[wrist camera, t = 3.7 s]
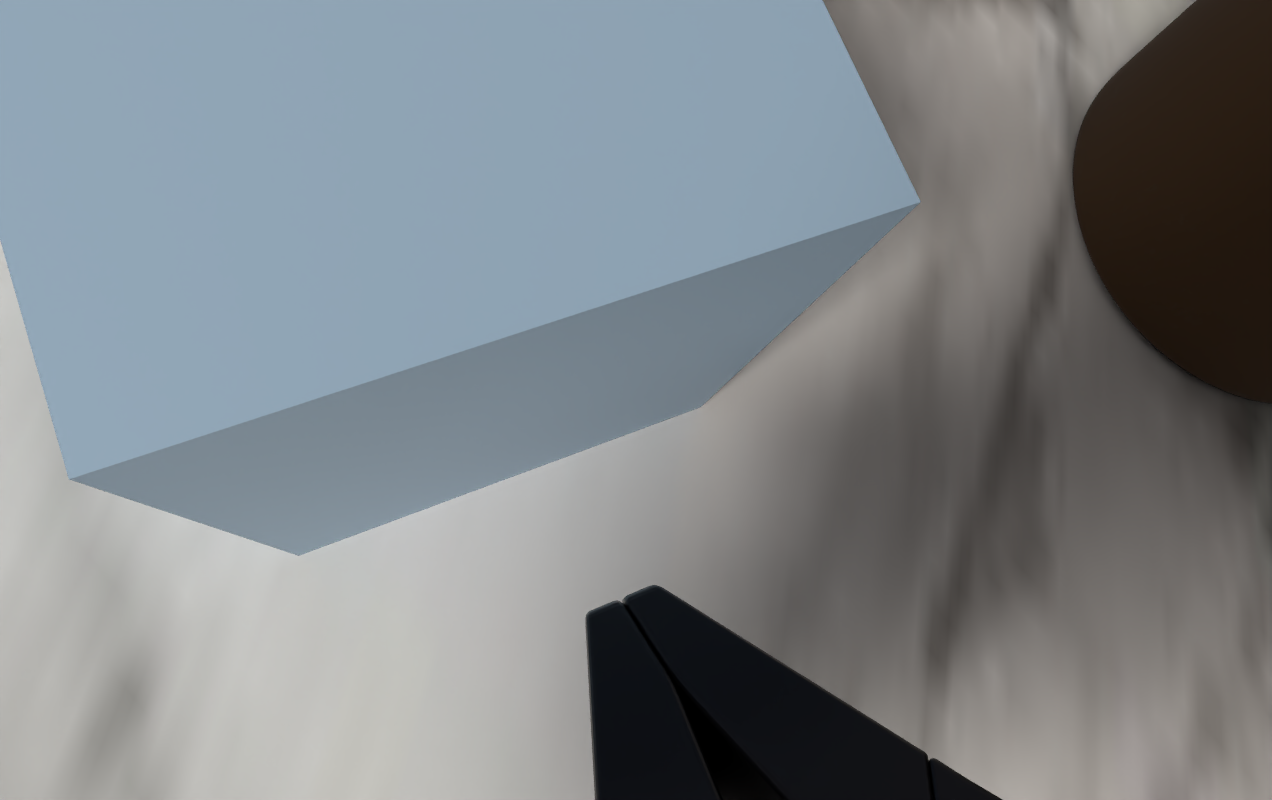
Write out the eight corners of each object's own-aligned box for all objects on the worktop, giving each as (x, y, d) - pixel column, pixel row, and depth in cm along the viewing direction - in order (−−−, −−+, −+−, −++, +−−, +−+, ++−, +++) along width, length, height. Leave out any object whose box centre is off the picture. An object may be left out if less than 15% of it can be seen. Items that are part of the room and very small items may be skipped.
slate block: (699, 407, 17) (921, 202, 9) (299, 556, 15) (69, 478, 7) (541, 30, 19) (596, -466, 10) (156, 120, 17) (-185, -404, 8)
